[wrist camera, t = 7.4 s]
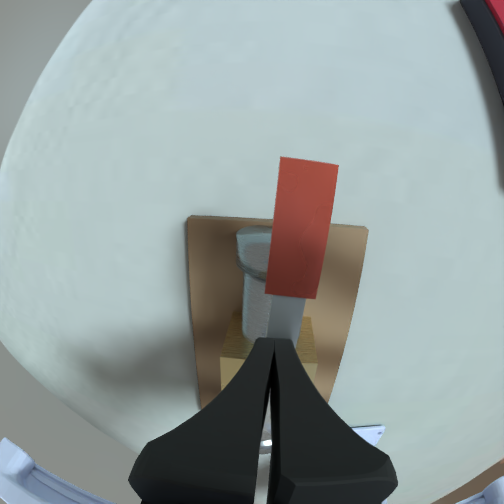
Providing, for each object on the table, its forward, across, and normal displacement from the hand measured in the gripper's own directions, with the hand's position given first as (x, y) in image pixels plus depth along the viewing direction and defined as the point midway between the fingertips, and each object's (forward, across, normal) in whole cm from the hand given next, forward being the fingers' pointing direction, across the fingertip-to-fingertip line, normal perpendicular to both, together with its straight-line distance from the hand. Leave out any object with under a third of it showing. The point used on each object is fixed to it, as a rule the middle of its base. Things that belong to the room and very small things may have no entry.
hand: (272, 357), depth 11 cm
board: (+8, 0, +5) cm, 10 cm away
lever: (+2, 0, 0) cm, 2 cm away
